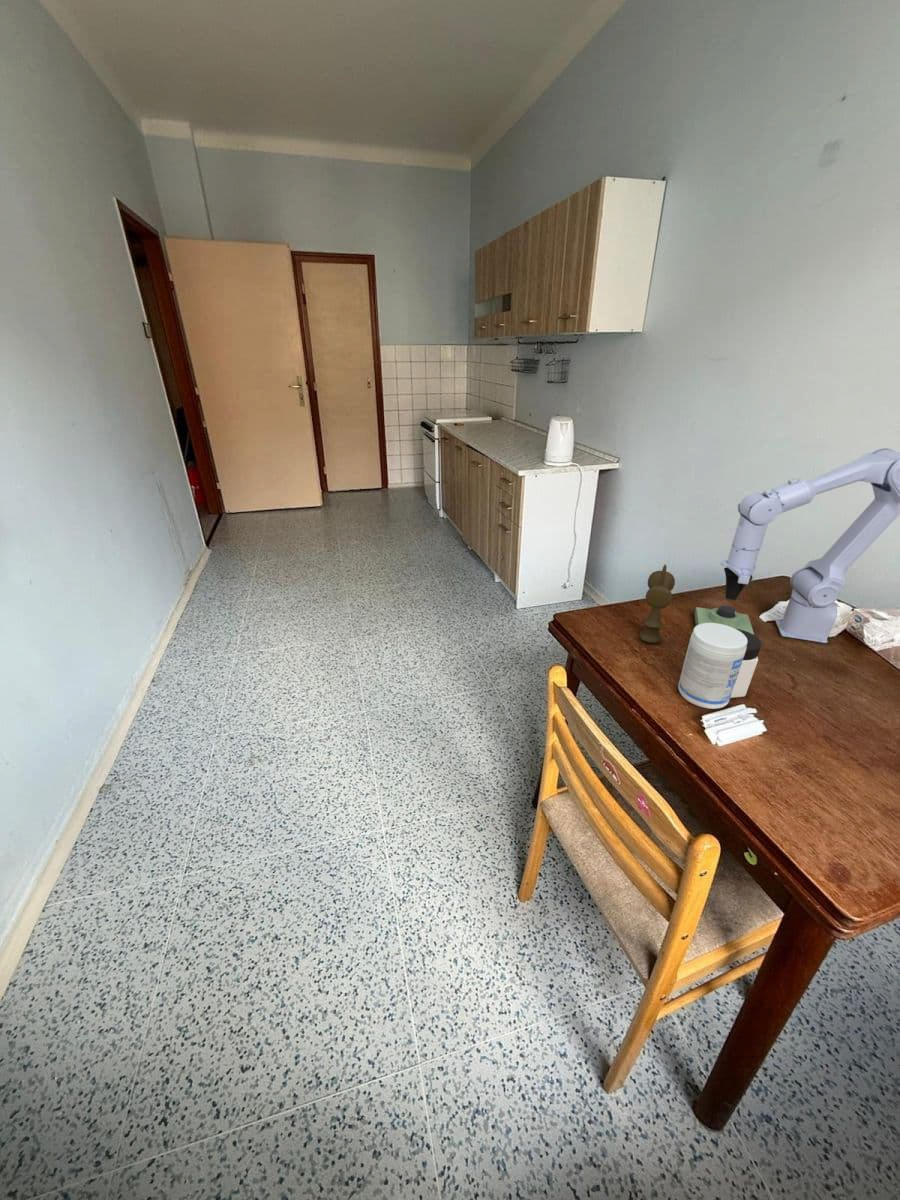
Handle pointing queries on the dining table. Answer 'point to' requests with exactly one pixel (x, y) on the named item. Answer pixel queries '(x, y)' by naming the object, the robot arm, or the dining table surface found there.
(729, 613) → the push button
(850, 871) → the dining table surface
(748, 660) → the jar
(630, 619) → the dining table surface
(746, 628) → the green button box
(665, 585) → the kendama
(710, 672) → the supplement tub
